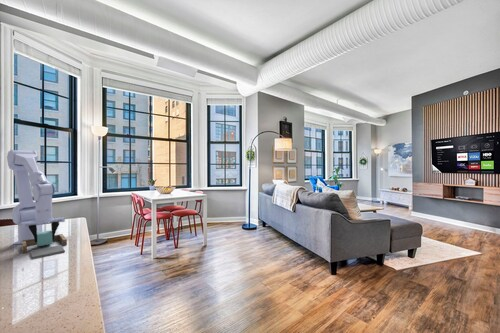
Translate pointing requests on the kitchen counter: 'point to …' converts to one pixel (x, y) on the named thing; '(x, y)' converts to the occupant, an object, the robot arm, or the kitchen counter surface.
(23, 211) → the robot arm
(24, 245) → the brown u-shaped bracket
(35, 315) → the kitchen counter surface
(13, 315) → the kitchen counter surface
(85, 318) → the kitchen counter surface
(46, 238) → the teal block
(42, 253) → the charcoal mat
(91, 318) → the kitchen counter surface
